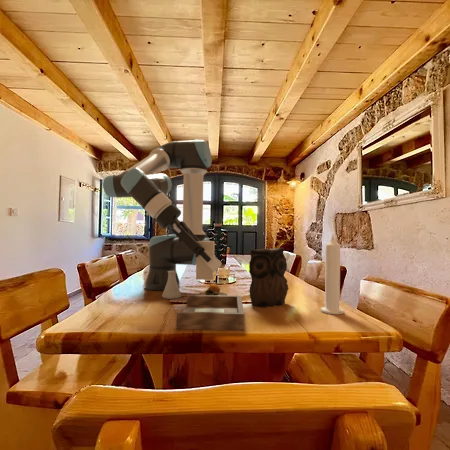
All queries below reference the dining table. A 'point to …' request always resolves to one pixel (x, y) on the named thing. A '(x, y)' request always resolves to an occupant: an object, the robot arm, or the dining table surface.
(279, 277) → the owl
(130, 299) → the dining table surface
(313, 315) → the dining table surface
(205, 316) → the shallow rimmed tray
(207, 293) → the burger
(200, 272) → the block
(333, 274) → the candle
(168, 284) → the flask
